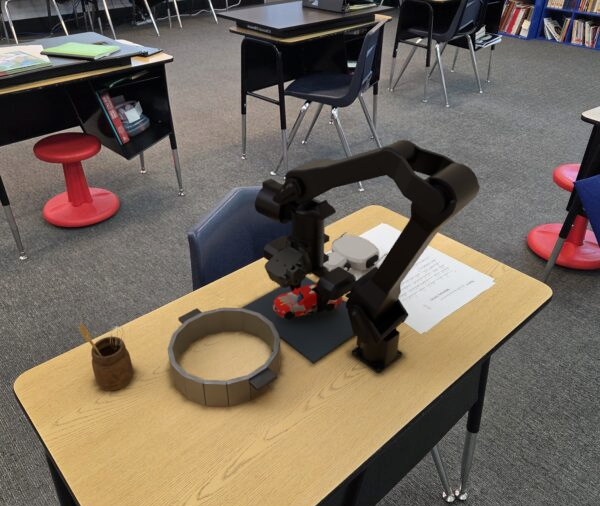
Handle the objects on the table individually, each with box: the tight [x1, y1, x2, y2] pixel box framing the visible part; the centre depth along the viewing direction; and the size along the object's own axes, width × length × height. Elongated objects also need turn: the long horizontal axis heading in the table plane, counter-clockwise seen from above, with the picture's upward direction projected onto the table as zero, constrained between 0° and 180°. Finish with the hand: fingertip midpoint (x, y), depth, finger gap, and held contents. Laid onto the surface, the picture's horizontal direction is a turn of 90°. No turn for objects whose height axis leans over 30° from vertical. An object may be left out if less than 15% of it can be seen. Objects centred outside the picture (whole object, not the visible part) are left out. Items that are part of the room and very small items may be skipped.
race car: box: [273, 284, 343, 319], centre depth 101 cm, size 13×5×4 cm, turn 105°
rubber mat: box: [241, 276, 356, 364], centre depth 103 cm, size 20×16×1 cm
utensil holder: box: [78, 321, 134, 391], centre depth 87 cm, size 6×6×12 cm
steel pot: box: [167, 307, 281, 408], centre depth 91 cm, size 22×18×5 cm
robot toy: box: [323, 229, 389, 272], centre depth 116 cm, size 12×4×15 cm
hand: (307, 302), depth 102 cm, fingers closed on race car, 6 cm apart
